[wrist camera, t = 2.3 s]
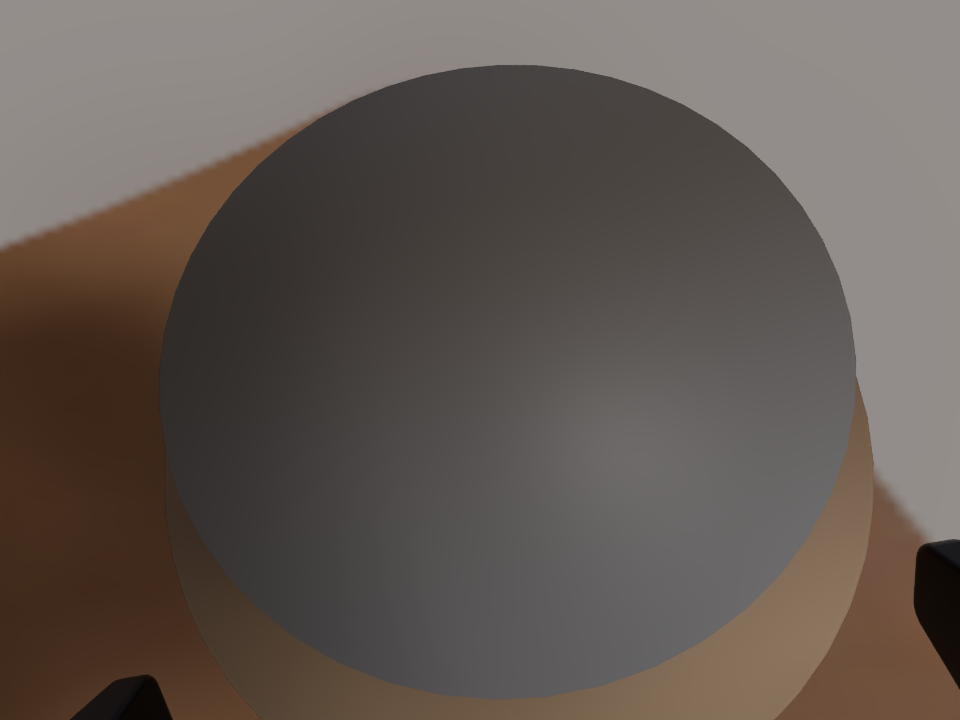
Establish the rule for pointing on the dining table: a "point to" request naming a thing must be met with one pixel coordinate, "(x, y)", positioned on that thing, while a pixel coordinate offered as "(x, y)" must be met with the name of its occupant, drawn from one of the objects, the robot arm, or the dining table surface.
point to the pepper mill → (514, 414)
